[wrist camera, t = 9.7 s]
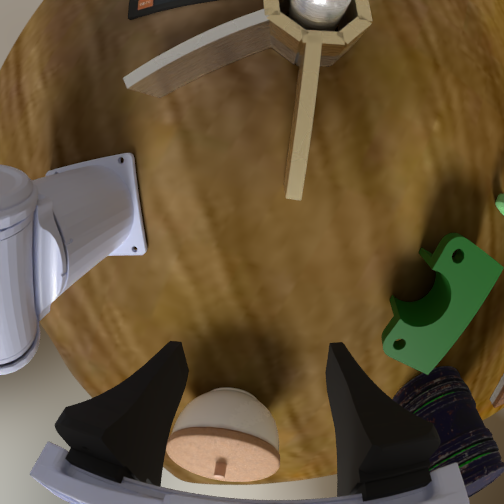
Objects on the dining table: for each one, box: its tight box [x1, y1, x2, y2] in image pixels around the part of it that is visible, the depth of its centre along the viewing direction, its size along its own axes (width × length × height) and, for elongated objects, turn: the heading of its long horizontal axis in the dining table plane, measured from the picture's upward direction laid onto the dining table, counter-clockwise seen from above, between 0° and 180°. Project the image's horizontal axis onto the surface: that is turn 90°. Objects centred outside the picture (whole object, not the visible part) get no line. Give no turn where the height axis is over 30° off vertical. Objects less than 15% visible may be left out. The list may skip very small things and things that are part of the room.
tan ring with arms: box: [123, 0, 372, 200], centre depth 15 cm, size 14×14×5 cm
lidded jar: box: [166, 387, 280, 482], centre depth 24 cm, size 11×11×9 cm
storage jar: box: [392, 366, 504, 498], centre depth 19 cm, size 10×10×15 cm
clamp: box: [382, 233, 504, 375], centre depth 19 cm, size 11×6×8 cm, turn 152°
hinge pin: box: [289, 0, 351, 31], centre depth 12 cm, size 3×3×7 cm
